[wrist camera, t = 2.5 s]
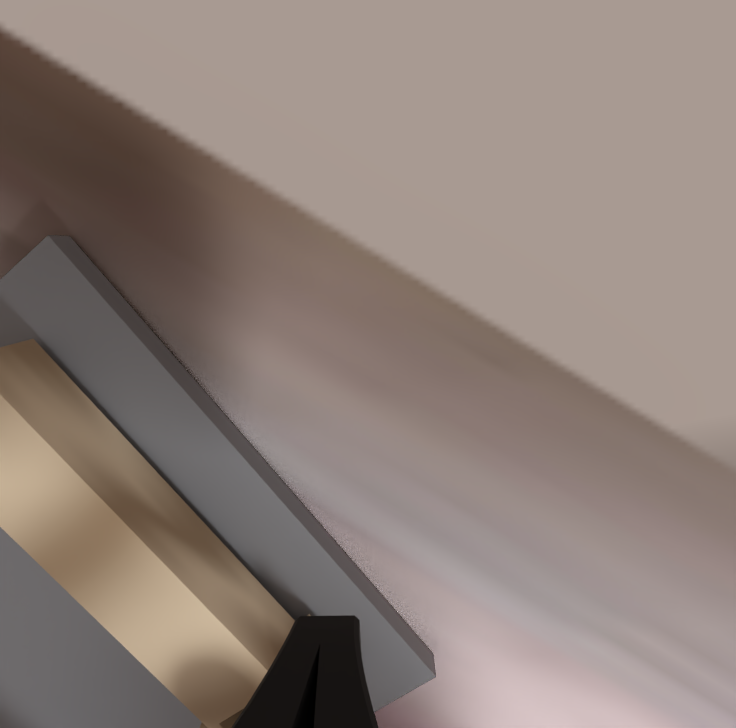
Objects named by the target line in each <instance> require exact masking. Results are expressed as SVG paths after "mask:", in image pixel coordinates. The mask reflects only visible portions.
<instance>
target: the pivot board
mask: <svg viewBox="0 0 736 728" xmlns="http://www.w3.org/2000/svg"><path fill="white" fill-rule="evenodd" d="M30 339H34V340H35V341H36V342H37V343H38V344H39V345H40V346H41V348H42V349H43V350H44V351H45V352H46V353H47V354H48V355H49V356H50V357H51V358H52V359H53V361H54V362H55V363H56V364H57V365H58V366H59V367H60V368H61V369H62V370H63V371H64V372H65V373H66V375H67V376H68V377H69V378H70V379H71V380H72V381H73V382H74V383H75V384H76V385H77V386H78V387H79V389H80V390H81V391H82V392H83V393H84V394H85V395H86V396H87V397H88V398H89V399H90V400H91V401H92V403H93V404H94V405H95V406H96V407H97V408H98V409H99V410H100V411H101V412H102V413H103V414H104V415H105V417H106V418H107V419H108V420H109V421H110V422H111V423H112V424H113V425H114V426H115V427H116V428H117V430H118V431H119V432H120V433H121V434H122V435H123V436H124V437H125V438H126V439H127V440H128V441H129V442H130V444H131V445H132V446H133V447H134V448H135V449H136V450H137V451H138V452H139V453H140V454H141V455H142V456H143V458H144V459H145V460H146V461H147V462H148V463H149V464H150V465H151V466H152V467H153V468H154V469H155V470H156V472H157V473H158V474H159V475H160V476H161V477H162V478H163V479H164V480H165V481H166V482H167V483H168V484H169V486H170V487H171V488H172V489H173V490H174V491H175V492H176V493H177V494H178V495H179V496H180V497H181V498H182V500H183V501H184V502H185V503H186V504H187V505H188V506H189V507H190V508H191V509H192V510H193V511H194V513H195V514H196V515H197V516H198V517H199V518H200V519H201V520H202V521H203V522H204V523H205V524H206V525H207V527H208V528H209V529H210V530H211V531H212V532H213V533H214V534H215V535H216V536H217V537H218V538H219V539H220V541H221V542H222V543H223V544H224V545H225V546H226V547H227V548H228V549H229V550H230V551H231V552H232V553H233V555H234V556H235V557H236V558H237V559H238V560H239V561H240V562H241V563H242V564H243V565H244V566H245V567H246V569H247V570H248V571H249V572H250V573H251V574H252V575H253V576H254V577H255V578H256V579H257V580H258V581H259V583H260V584H261V585H262V586H263V587H264V588H265V589H266V590H267V591H268V592H269V593H270V594H271V596H272V597H273V598H274V599H275V600H276V601H277V602H278V603H279V604H280V605H281V606H282V607H283V608H284V610H285V611H286V612H287V613H288V614H289V615H290V616H291V617H292V618H293V619H294V620H296V619H297V618H298V617H299V616H307V615H309V614H310V615H311V616H344V615H355V616H356V617H357V618H358V619H359V620H360V635H361V653H362V663H363V668H364V673H365V678H366V683H367V687H368V691H369V695H370V699H371V703H372V707H373V711H374V712H375V711H377V710H379V709H381V708H382V707H384V706H386V705H388V704H389V703H391V702H393V701H395V700H396V699H398V698H400V697H402V696H403V695H405V694H407V693H409V692H410V691H412V690H414V689H416V688H417V687H419V686H421V685H422V684H424V683H426V682H428V681H429V680H431V679H433V678H435V677H436V672H435V664H434V656H433V653H432V652H431V651H430V650H429V649H428V648H427V646H426V645H425V644H424V643H423V642H422V641H421V640H420V638H419V637H418V636H417V635H416V634H415V633H414V631H413V630H412V629H411V628H410V627H409V626H408V625H407V623H406V622H405V621H404V620H403V619H402V618H401V617H400V615H399V614H398V613H397V612H396V611H395V610H394V608H393V607H392V606H391V605H390V604H389V603H388V602H387V600H386V599H385V598H384V597H383V596H382V595H381V594H380V592H379V591H378V590H377V589H376V588H375V587H374V586H373V584H372V583H371V582H370V581H369V580H368V579H367V577H366V576H365V575H364V574H363V573H362V572H361V571H360V569H359V568H358V567H357V566H356V565H355V564H354V563H353V561H352V560H351V559H350V558H349V557H348V556H347V554H346V553H345V552H344V551H343V550H342V549H341V548H340V546H339V545H338V544H337V543H336V542H335V541H334V540H333V538H332V537H331V536H330V535H329V534H328V533H327V531H326V530H325V529H324V528H323V527H322V526H321V525H320V523H319V522H318V521H317V520H316V519H315V518H314V517H313V515H312V514H311V513H310V512H309V511H308V510H307V508H306V507H305V506H304V505H303V504H302V503H301V502H300V500H299V499H298V498H297V497H296V496H295V495H294V494H293V492H292V491H291V490H290V489H289V488H288V487H287V485H286V484H285V483H284V482H283V481H282V480H281V479H280V477H279V476H278V475H277V474H276V473H275V472H274V471H273V469H272V468H271V467H270V466H269V465H268V464H267V463H266V461H265V460H264V459H263V458H262V457H261V456H260V454H259V453H258V452H257V451H256V450H255V449H254V448H253V446H252V445H251V444H250V443H249V442H248V441H247V440H246V438H245V437H244V436H243V435H242V434H241V433H240V431H239V430H238V429H237V428H236V427H235V426H234V425H233V423H232V422H231V421H230V420H229V419H228V418H227V417H226V415H225V414H224V413H223V412H222V411H221V410H220V408H219V407H218V406H217V405H216V404H215V403H214V402H213V400H212V399H211V398H210V397H209V396H208V395H207V394H206V392H205V391H204V390H203V389H202V388H201V387H200V385H199V384H198V383H197V382H196V381H195V380H194V379H193V377H192V376H191V375H190V374H189V373H188V372H187V371H186V369H185V368H184V367H183V366H182V365H181V364H180V362H179V361H178V360H177V359H176V358H175V357H174V356H173V354H172V353H171V352H170V351H169V350H168V349H167V348H166V346H165V345H164V344H163V343H162V342H161V341H160V340H159V338H158V337H157V336H156V335H155V334H154V333H153V331H152V330H151V329H150V328H149V327H148V326H147V325H146V323H145V322H144V321H143V320H142V319H141V318H140V317H139V315H138V314H137V313H136V312H135V311H134V310H133V308H132V307H131V306H130V305H129V304H128V303H127V302H126V300H125V299H124V298H123V297H122V296H121V295H120V294H119V292H118V291H117V290H116V289H115V288H114V287H113V285H112V284H111V283H110V282H109V281H108V280H107V279H106V277H105V276H104V275H103V274H102V273H101V272H100V271H99V269H98V268H97V267H96V266H95V265H94V264H93V262H92V261H91V260H90V259H89V258H88V257H87V256H86V254H85V253H84V252H83V251H82V250H81V249H80V248H79V246H78V245H77V244H76V243H75V242H74V241H73V239H72V238H71V237H70V236H56V235H48V236H47V237H45V238H44V239H43V240H42V241H41V242H40V243H39V244H38V245H37V246H36V247H35V248H34V249H33V250H32V251H30V252H29V253H28V254H27V255H26V256H25V257H24V258H23V259H22V260H21V261H20V262H19V263H18V264H16V265H15V266H14V267H13V268H12V269H11V270H10V271H9V272H8V273H7V274H6V275H5V276H4V277H2V278H1V279H0V347H4V346H7V345H11V344H15V343H19V342H23V341H27V340H30ZM201 723H202V722H201V721H200V720H199V719H198V718H197V717H196V716H195V715H194V714H193V713H192V712H191V711H190V710H189V709H188V708H187V707H186V706H185V705H184V704H183V703H182V702H181V701H180V700H179V699H178V698H176V697H175V696H174V695H173V694H172V693H171V692H170V691H169V690H168V689H167V688H166V687H165V686H164V685H163V684H162V683H161V682H160V681H159V680H158V679H157V678H156V677H155V676H154V675H153V674H152V673H151V672H150V671H149V670H148V669H147V668H146V667H144V666H143V665H142V664H141V663H140V662H139V661H138V660H137V659H136V658H135V657H134V656H133V655H132V654H131V653H130V652H129V651H128V650H127V649H126V648H125V647H124V646H123V645H122V644H121V643H120V642H119V641H118V640H117V639H116V638H115V637H114V636H112V635H111V634H110V633H109V632H108V631H107V630H106V629H105V628H104V627H103V626H102V625H101V624H100V623H99V622H98V621H97V620H96V619H95V618H94V617H93V616H92V615H91V614H90V613H89V612H88V611H87V610H86V609H85V608H84V607H83V606H82V605H80V604H79V603H78V602H77V601H76V600H75V599H74V598H73V597H72V596H71V595H70V594H69V593H68V592H67V591H66V590H65V589H64V588H63V587H62V586H61V585H60V584H59V583H58V582H57V581H56V580H55V579H54V578H53V577H52V576H51V575H50V574H48V573H47V572H46V571H45V570H44V569H43V568H42V567H41V566H40V565H39V564H38V563H37V562H36V561H35V560H34V559H33V558H32V557H31V556H30V555H29V554H28V553H27V552H26V551H25V550H24V549H23V548H22V547H21V546H20V545H19V544H18V543H16V542H15V541H14V540H13V539H12V538H11V537H10V536H9V535H8V534H7V533H6V532H5V531H4V530H3V529H2V528H1V527H0V728H200V725H201Z"/></svg>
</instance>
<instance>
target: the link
mask: <svg viewBox="0 0 736 728" xmlns="http://www.w3.org/2000/svg"><path fill="white" fill-rule="evenodd" d="M0 527H1V528H2V529H3V530H4V531H5V532H6V533H7V534H8V535H9V536H10V537H11V538H12V539H13V540H14V541H15V542H16V543H18V544H19V545H20V546H21V547H22V548H23V549H24V550H25V551H26V552H27V553H28V554H29V555H30V556H31V557H32V558H33V559H34V560H35V561H36V562H37V563H38V564H39V565H40V566H41V567H42V568H43V569H44V570H45V571H46V572H47V573H48V574H50V575H51V576H52V577H53V578H54V579H55V580H56V581H57V582H58V583H59V584H60V585H61V586H62V587H63V588H64V589H65V590H66V591H67V592H68V593H69V594H70V595H71V596H72V597H73V598H74V599H75V600H76V601H77V602H78V603H79V604H80V605H82V606H83V607H84V608H85V609H86V610H87V611H88V612H89V613H90V614H91V615H92V616H93V617H94V618H95V619H96V620H97V621H98V622H99V623H100V624H101V625H102V626H103V627H104V628H105V629H106V630H107V631H108V632H109V633H110V634H111V635H112V636H114V637H115V638H116V639H117V640H118V641H119V642H120V643H121V644H122V645H123V646H124V647H125V648H126V649H127V650H128V651H129V652H130V653H131V654H132V655H133V656H134V657H135V658H136V659H137V660H138V661H139V662H140V663H141V664H142V665H143V666H144V667H146V668H147V669H148V670H149V671H150V672H151V673H152V674H153V675H154V676H155V677H156V678H157V679H158V680H159V681H160V682H161V683H162V684H163V685H164V686H165V687H166V688H167V689H168V690H169V691H170V692H171V693H172V694H173V695H174V696H175V697H176V698H178V699H179V700H180V701H181V702H182V703H183V704H184V705H185V706H186V707H187V708H188V709H189V710H190V711H191V712H192V713H193V714H194V715H195V716H196V717H197V718H198V719H199V720H200V721H201V722H202V723H201V725H200V728H231V727H232V726H233V724H234V723H235V721H236V720H237V718H238V717H239V715H240V714H241V713H242V711H243V710H244V708H245V707H246V705H247V703H248V702H249V700H250V699H251V697H252V696H253V694H254V692H255V691H256V689H257V687H258V686H259V684H260V683H261V681H262V679H263V678H264V676H265V675H266V673H267V671H268V670H269V668H270V666H271V665H272V663H273V661H274V659H275V658H276V656H277V654H278V652H279V651H280V649H281V647H282V645H283V643H284V641H285V640H286V638H287V636H288V634H289V632H290V630H291V628H292V626H293V624H294V622H295V620H294V619H293V618H292V617H291V616H290V615H289V614H288V613H287V612H286V611H285V610H284V608H283V607H282V606H281V605H280V604H279V603H278V602H277V601H276V600H275V599H274V598H273V597H272V596H271V594H270V593H269V592H268V591H267V590H266V589H265V588H264V587H263V586H262V585H261V584H260V583H259V581H258V580H257V579H256V578H255V577H254V576H253V575H252V574H251V573H250V572H249V571H248V570H247V569H246V567H245V566H244V565H243V564H242V563H241V562H240V561H239V560H238V559H237V558H236V557H235V556H234V555H233V553H232V552H231V551H230V550H229V549H228V548H227V547H226V546H225V545H224V544H223V543H222V542H221V541H220V539H219V538H218V537H217V536H216V535H215V534H214V533H213V532H212V531H211V530H210V529H209V528H208V527H207V525H206V524H205V523H204V522H203V521H202V520H201V519H200V518H199V517H198V516H197V515H196V514H195V513H194V511H193V510H192V509H191V508H190V507H189V506H188V505H187V504H186V503H185V502H184V501H183V500H182V498H181V497H180V496H179V495H178V494H177V493H176V492H175V491H174V490H173V489H172V488H171V487H170V486H169V484H168V483H167V482H166V481H165V480H164V479H163V478H162V477H161V476H160V475H159V474H158V473H157V472H156V470H155V469H154V468H153V467H152V466H151V465H150V464H149V463H148V462H147V461H146V460H145V459H144V458H143V456H142V455H141V454H140V453H139V452H138V451H137V450H136V449H135V448H134V447H133V446H132V445H131V444H130V442H129V441H128V440H127V439H126V438H125V437H124V436H123V435H122V434H121V433H120V432H119V431H118V430H117V428H116V427H115V426H114V425H113V424H112V423H111V422H110V421H109V420H108V419H107V418H106V417H105V415H104V414H103V413H102V412H101V411H100V410H99V409H98V408H97V407H96V406H95V405H94V404H93V403H92V401H91V400H90V399H89V398H88V397H87V396H86V395H85V394H84V393H83V392H82V391H81V390H80V389H79V387H78V386H77V385H76V384H75V383H74V382H73V381H72V380H71V379H70V378H69V377H68V376H67V375H66V373H65V372H64V371H63V370H62V369H61V368H60V367H59V366H58V365H57V364H56V363H55V362H54V361H53V359H52V358H51V357H50V356H49V355H48V354H47V353H46V352H45V351H44V350H43V349H42V348H41V346H40V345H39V344H38V343H37V342H36V341H35V340H34V339H30V340H27V341H23V342H19V343H15V344H11V345H7V346H4V347H0ZM307 616H311V615H310V614H309V615H307Z"/></svg>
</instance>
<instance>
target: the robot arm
mask: <svg viewBox="0 0 736 728" xmlns="http://www.w3.org/2000/svg"><path fill="white" fill-rule="evenodd" d="M231 728H378V725H377V721H376V718H375V714H374V711H373V707H372V703H371V699H370V695H369V691H368V687H367V683H366V678H365V673H364V668H363V663H362V653H361V635H360V620H359V619H358V618H357V617H356V616H355V615H344V616H299V617H298V618H297V619H296V620H295V622H294V624H293V626H292V628H291V630H290V632H289V634H288V636H287V638H286V640H285V641H284V643H283V645H282V647H281V649H280V651H279V652H278V654H277V656H276V658H275V659H274V661H273V663H272V665H271V666H270V668H269V670H268V671H267V673H266V675H265V676H264V678H263V679H262V681H261V683H260V684H259V686H258V687H257V689H256V691H255V692H254V694H253V696H252V697H251V699H250V700H249V702H248V703H247V705H246V707H245V708H244V710H243V711H242V713H241V714H240V715H239V717H238V718H237V720H236V721H235V723H234V724H233V726H232V727H231Z"/></svg>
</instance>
